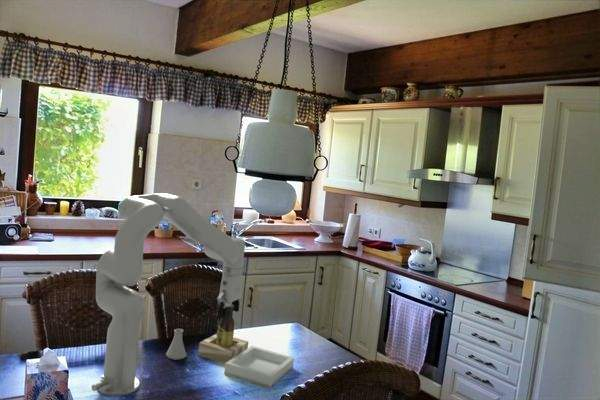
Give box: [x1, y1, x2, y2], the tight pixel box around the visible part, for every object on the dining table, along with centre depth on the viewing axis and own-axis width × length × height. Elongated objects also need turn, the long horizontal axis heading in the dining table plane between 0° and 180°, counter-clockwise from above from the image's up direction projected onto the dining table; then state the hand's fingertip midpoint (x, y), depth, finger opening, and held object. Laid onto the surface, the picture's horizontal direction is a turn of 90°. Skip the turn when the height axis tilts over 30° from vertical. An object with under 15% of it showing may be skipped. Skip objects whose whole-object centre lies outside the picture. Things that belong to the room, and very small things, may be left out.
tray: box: [224, 345, 295, 389], centre depth 181 cm, size 20×18×4 cm
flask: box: [165, 328, 188, 361], centre depth 185 cm, size 7×7×10 cm
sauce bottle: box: [216, 303, 235, 348], centre depth 191 cm, size 6×6×20 cm
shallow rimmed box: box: [197, 333, 249, 364], centre depth 192 cm, size 13×14×5 cm
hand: (228, 314), depth 191 cm, fingers open, 9 cm apart
